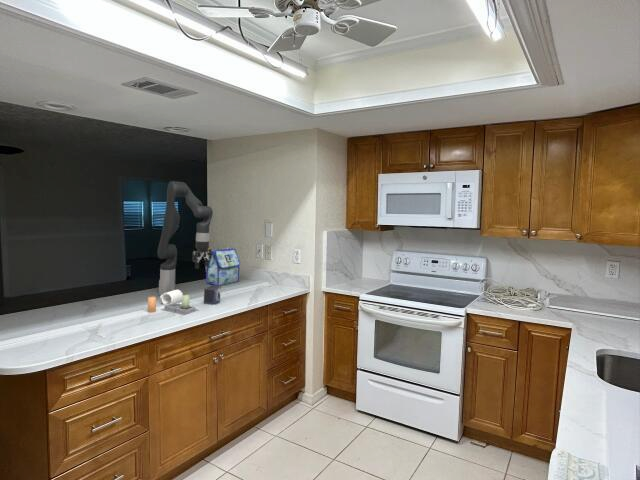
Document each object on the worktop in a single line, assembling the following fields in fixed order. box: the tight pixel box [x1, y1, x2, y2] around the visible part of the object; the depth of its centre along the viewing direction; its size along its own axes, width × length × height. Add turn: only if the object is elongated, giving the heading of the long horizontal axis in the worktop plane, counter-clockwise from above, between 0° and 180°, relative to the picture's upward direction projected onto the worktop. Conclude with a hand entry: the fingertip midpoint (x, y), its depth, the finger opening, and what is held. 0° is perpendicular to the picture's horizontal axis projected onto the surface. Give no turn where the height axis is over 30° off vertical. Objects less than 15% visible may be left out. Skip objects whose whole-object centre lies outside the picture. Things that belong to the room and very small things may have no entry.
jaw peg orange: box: [147, 296, 157, 313], centre depth 223 cm, size 4×4×9 cm
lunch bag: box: [205, 248, 241, 286], centre depth 305 cm, size 22×17×26 cm
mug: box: [159, 289, 184, 305], centre depth 244 cm, size 12×10×8 cm
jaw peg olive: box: [181, 294, 190, 310], centre depth 227 cm, size 4×4×9 cm
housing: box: [160, 302, 199, 316], centre depth 229 cm, size 18×12×3 cm, turn 65°
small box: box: [203, 284, 221, 306], centre depth 248 cm, size 11×6×10 cm, turn 168°
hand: (201, 267), depth 236 cm, fingers open, 8 cm apart
